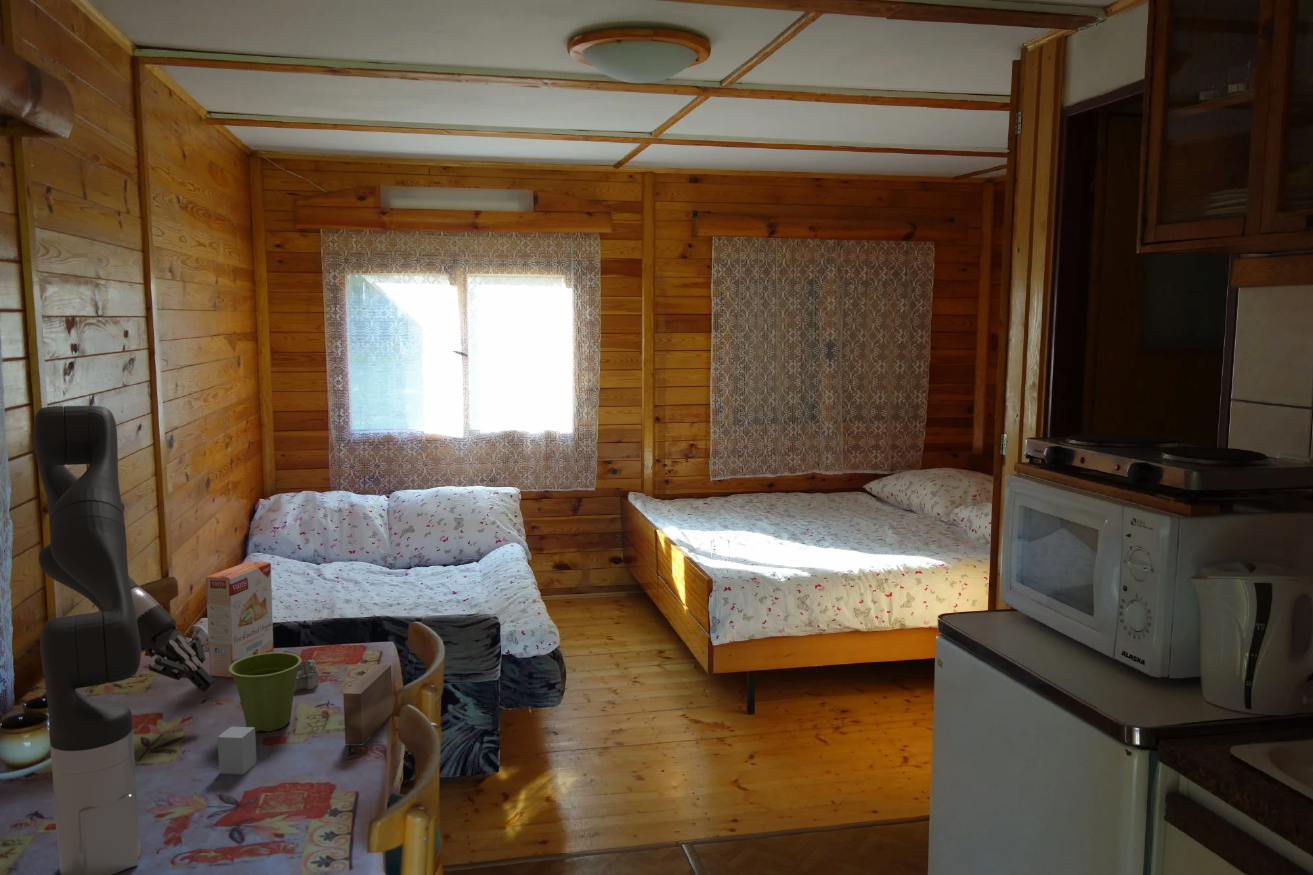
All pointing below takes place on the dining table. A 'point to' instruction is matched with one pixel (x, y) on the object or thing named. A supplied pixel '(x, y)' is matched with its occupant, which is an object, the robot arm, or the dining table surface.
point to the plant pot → (266, 688)
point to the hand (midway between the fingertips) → (210, 687)
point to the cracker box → (239, 615)
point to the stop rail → (367, 704)
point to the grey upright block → (237, 750)
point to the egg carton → (309, 679)
